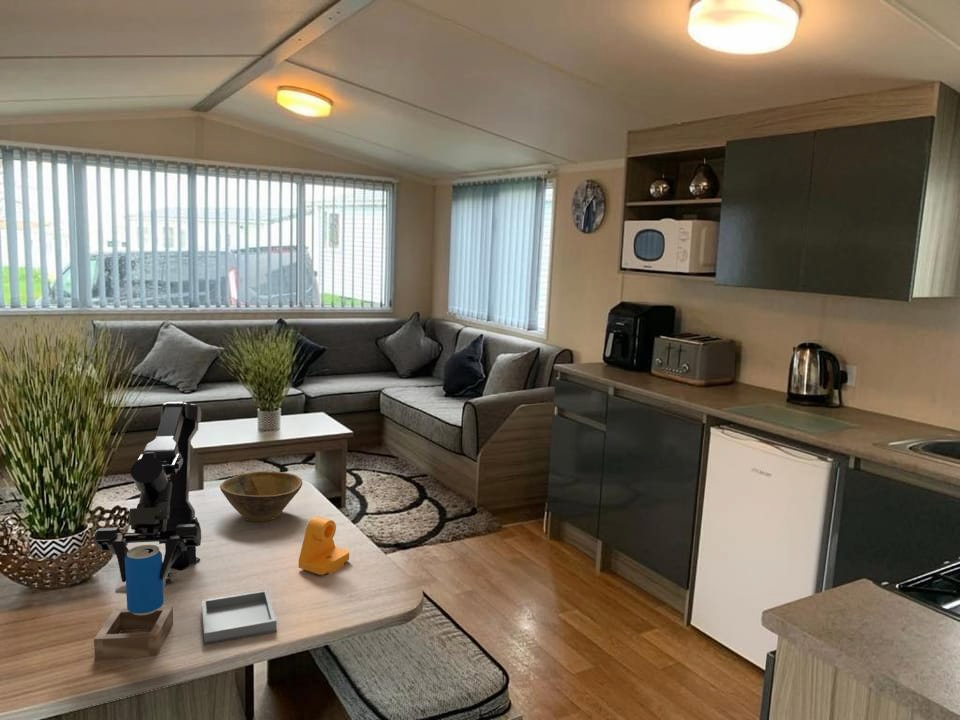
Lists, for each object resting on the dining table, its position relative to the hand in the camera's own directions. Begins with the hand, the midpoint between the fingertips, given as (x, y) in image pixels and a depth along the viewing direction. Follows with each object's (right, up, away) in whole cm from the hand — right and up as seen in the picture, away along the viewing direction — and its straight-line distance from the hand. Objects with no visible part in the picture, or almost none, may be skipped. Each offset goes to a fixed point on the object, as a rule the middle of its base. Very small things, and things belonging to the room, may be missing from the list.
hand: (142, 580), depth 133 cm
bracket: (+27, -9, +38) cm, 47 cm away
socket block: (-3, -13, +3) cm, 13 cm away
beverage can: (-1, -6, +3) cm, 7 cm away
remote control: (-12, -9, +26) cm, 30 cm away
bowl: (+2, -3, +67) cm, 67 cm away
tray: (+14, -12, +11) cm, 22 cm away
